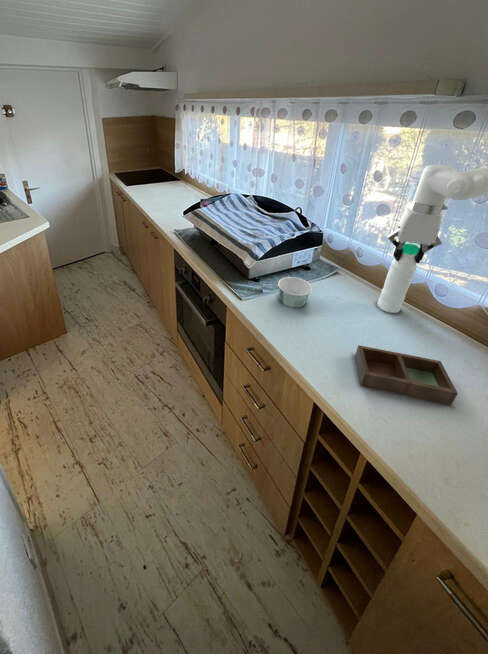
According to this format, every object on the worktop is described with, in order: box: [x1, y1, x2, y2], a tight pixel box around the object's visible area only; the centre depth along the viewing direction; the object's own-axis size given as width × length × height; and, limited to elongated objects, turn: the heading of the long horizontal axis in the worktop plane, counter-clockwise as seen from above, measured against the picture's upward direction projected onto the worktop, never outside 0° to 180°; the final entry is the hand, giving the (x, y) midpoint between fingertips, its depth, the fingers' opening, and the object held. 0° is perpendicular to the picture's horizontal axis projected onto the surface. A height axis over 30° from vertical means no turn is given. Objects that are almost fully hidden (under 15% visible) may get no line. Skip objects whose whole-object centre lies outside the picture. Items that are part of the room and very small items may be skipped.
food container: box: [277, 276, 313, 308], centre depth 113 cm, size 12×12×6 cm
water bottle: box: [377, 242, 420, 314], centre depth 104 cm, size 7×7×25 cm
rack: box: [354, 344, 459, 407], centre depth 82 cm, size 20×11×5 cm, turn 72°
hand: (406, 259), depth 100 cm, fingers closed on water bottle, 5 cm apart
